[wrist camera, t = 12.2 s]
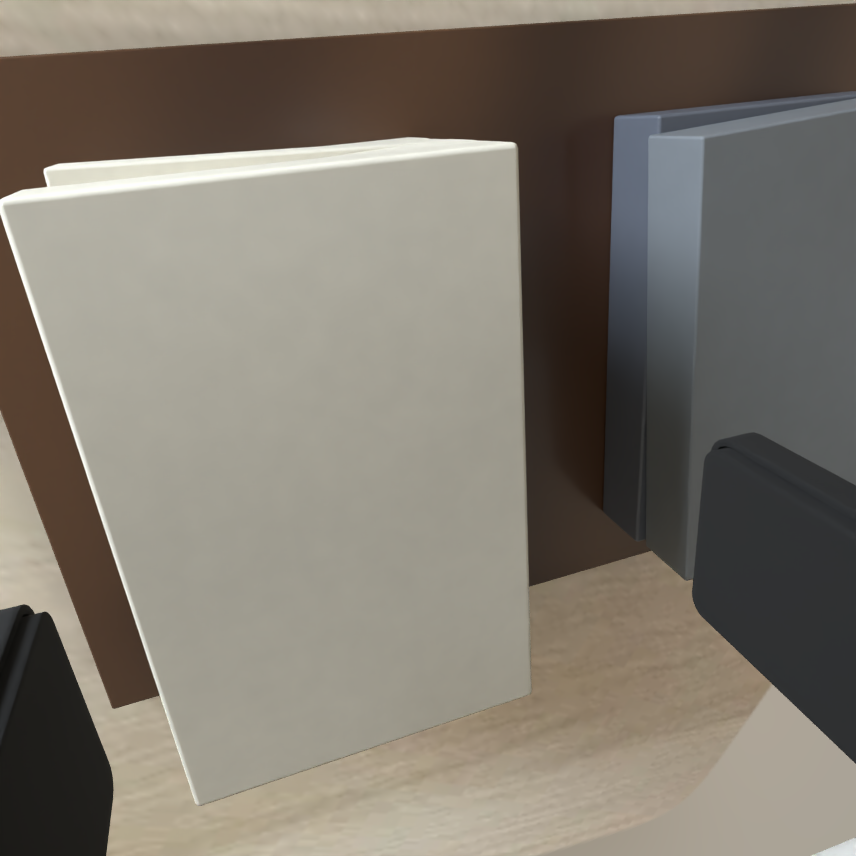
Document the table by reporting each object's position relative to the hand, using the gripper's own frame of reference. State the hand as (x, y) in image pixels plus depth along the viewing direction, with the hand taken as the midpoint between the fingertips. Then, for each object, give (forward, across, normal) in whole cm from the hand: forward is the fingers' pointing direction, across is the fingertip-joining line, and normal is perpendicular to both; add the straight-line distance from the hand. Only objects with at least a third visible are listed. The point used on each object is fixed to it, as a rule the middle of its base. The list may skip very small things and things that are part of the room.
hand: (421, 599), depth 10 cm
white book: (+4, +1, 0) cm, 4 cm away
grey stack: (+8, -11, 0) cm, 14 cm away
